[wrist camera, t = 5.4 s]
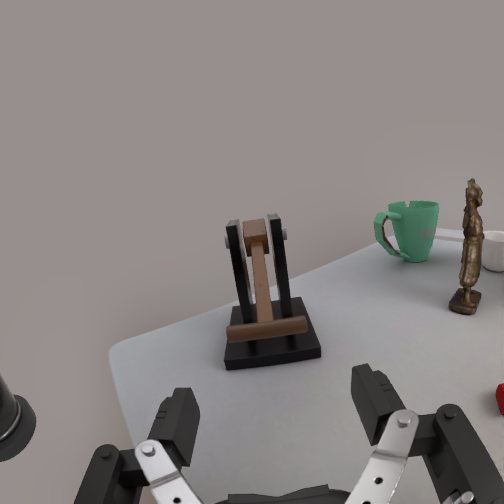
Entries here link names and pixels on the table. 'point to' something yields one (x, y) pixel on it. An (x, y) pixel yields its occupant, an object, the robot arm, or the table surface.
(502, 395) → the lighter
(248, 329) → the lever
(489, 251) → the teacup
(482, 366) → the table surface
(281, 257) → the bracket
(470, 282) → the figurine
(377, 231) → the mug
